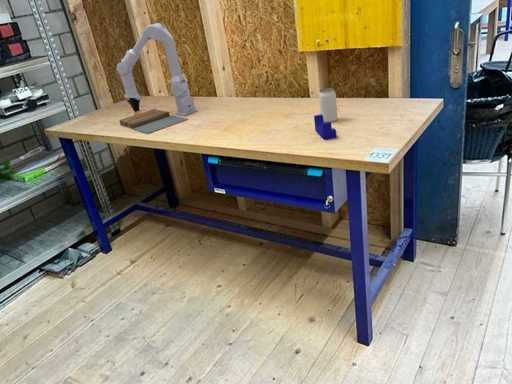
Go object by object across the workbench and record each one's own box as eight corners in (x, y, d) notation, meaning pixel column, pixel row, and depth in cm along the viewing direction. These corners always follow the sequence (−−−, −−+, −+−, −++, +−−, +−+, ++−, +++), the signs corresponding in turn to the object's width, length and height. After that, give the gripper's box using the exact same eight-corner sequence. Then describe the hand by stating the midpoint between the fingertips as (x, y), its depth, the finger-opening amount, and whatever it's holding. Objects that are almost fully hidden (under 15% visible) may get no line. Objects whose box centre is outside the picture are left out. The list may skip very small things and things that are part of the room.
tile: (151, 113, 215) (150, 110, 214) (140, 117, 212) (139, 113, 211) (145, 112, 220) (144, 108, 219) (134, 116, 217) (133, 112, 216)
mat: (188, 119, 203) (188, 118, 203) (147, 134, 191) (147, 133, 191) (171, 116, 214) (171, 115, 214) (132, 129, 202) (132, 128, 202)
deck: (170, 116, 214) (168, 112, 213) (134, 129, 203) (133, 124, 202) (155, 113, 225) (154, 109, 224) (120, 125, 215) (119, 120, 214)
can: (338, 117, 168) (336, 87, 163) (336, 122, 163) (333, 91, 158) (322, 118, 171) (320, 88, 166) (319, 123, 165) (316, 92, 160)
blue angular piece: (336, 138, 148) (335, 121, 145) (324, 140, 148) (322, 124, 145) (327, 128, 159) (325, 113, 156) (315, 131, 158) (313, 115, 156)
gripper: (116, 87, 218) (124, 113, 223) (128, 89, 207) (136, 115, 213) (129, 84, 221) (136, 109, 227) (141, 85, 211) (148, 111, 217)
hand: (137, 112), depth 220 cm, fingers closed
